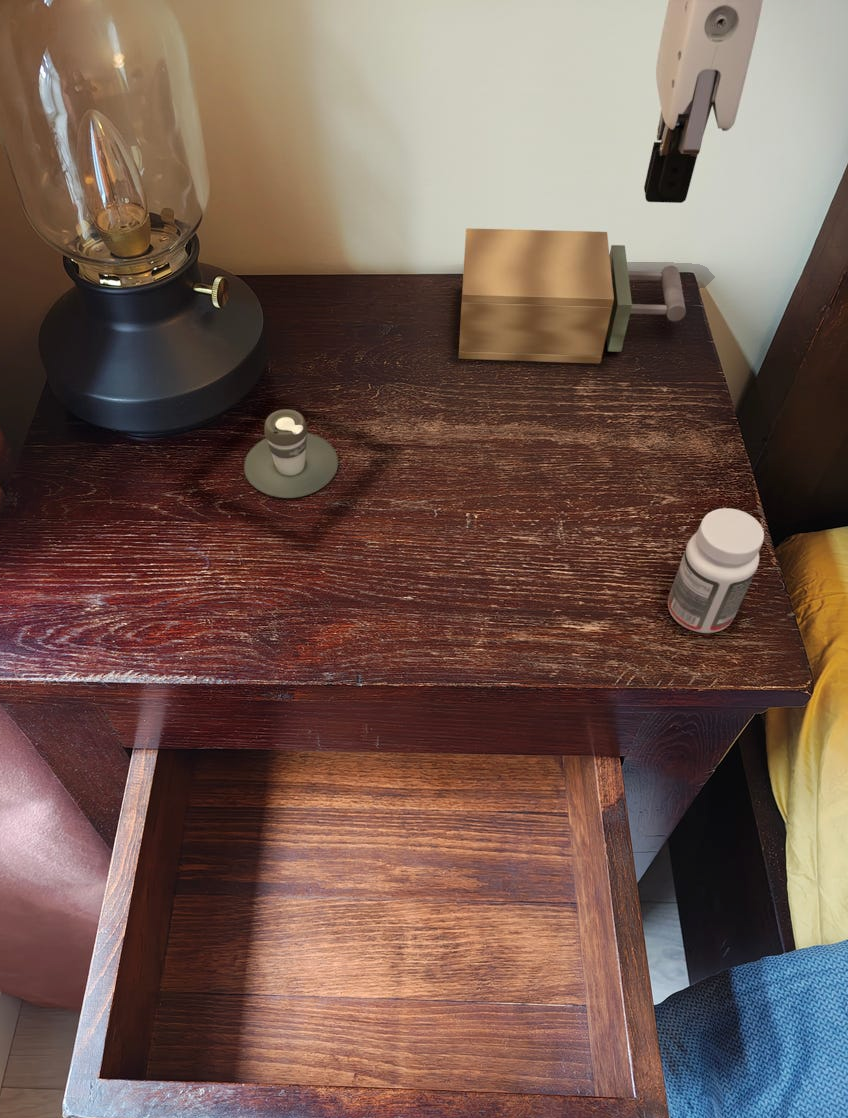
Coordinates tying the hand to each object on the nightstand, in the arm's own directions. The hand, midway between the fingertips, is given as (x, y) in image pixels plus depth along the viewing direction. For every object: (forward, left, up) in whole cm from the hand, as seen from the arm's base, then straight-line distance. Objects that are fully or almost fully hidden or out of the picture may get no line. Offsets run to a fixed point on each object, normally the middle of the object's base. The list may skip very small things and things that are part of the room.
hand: (664, 196), depth 76 cm
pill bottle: (-2, +32, -13) cm, 35 cm away
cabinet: (+9, 0, -13) cm, 16 cm away
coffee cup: (+29, +20, -13) cm, 38 cm away
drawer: (+5, 0, -12) cm, 13 cm away
